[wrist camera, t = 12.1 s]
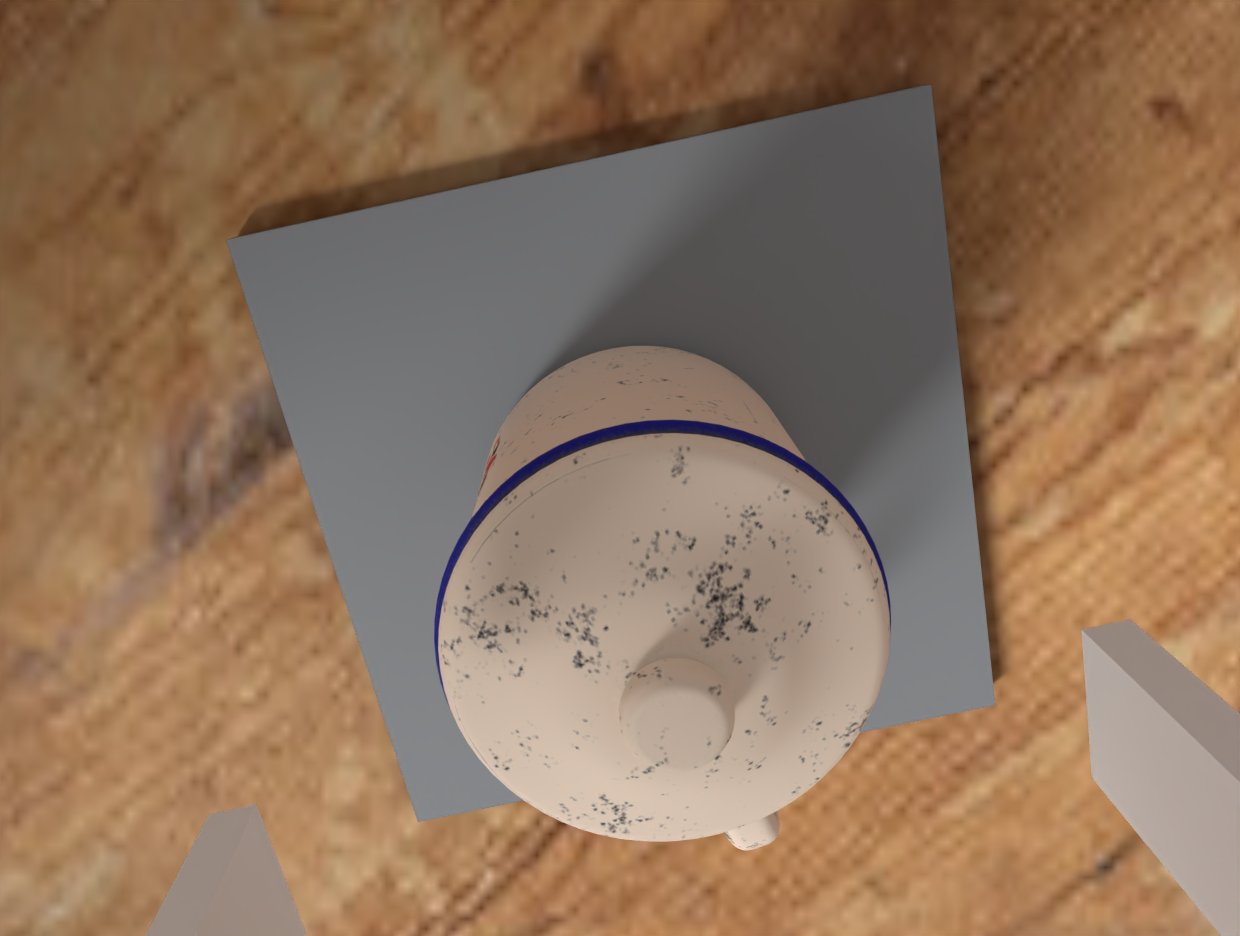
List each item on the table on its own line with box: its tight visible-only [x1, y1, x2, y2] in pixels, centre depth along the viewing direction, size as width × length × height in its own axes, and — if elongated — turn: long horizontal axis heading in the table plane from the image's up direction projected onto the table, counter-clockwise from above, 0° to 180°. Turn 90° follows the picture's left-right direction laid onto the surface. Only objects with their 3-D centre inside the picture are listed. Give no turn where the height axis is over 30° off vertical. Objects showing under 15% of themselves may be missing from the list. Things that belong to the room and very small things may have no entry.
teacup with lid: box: [434, 346, 891, 850], centre depth 23 cm, size 12×9×12 cm
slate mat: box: [226, 85, 995, 822], centre depth 29 cm, size 18×18×1 cm
